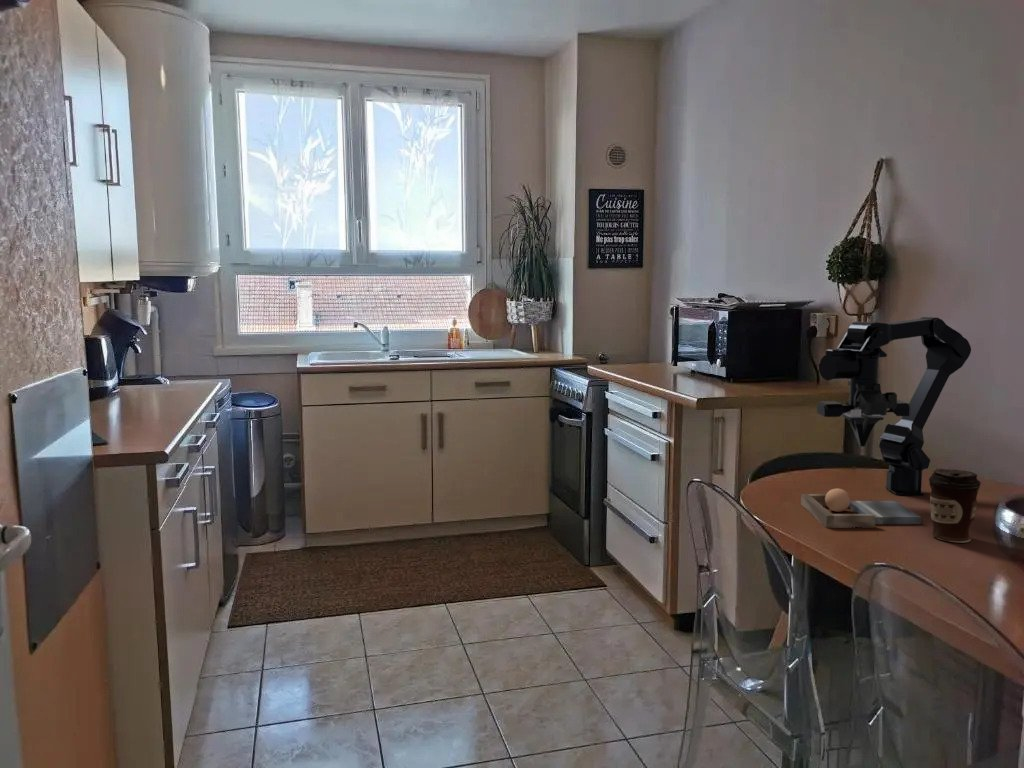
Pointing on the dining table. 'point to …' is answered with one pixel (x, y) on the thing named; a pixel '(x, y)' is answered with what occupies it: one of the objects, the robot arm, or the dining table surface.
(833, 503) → the ball
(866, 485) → the dining table surface
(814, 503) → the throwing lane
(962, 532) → the coffee cup
